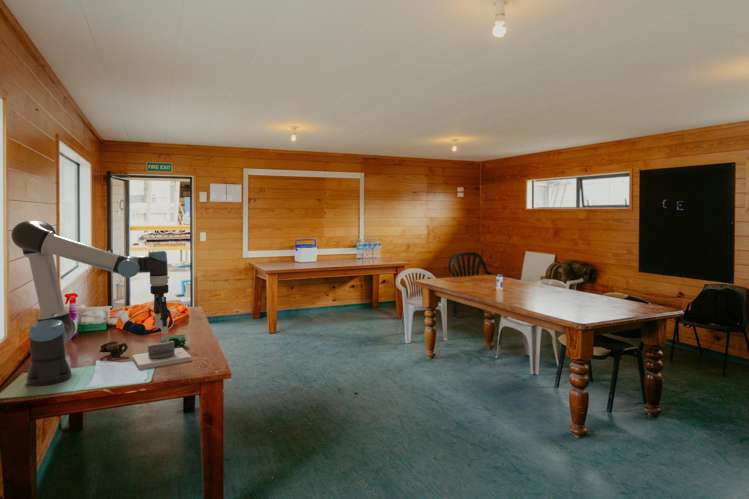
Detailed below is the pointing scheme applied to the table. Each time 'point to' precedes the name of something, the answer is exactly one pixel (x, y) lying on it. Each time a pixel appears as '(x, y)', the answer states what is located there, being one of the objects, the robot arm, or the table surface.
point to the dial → (161, 350)
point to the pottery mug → (113, 349)
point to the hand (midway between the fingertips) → (161, 330)
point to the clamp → (175, 340)
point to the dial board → (146, 362)
